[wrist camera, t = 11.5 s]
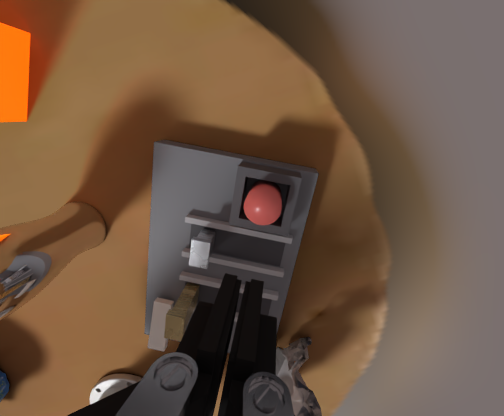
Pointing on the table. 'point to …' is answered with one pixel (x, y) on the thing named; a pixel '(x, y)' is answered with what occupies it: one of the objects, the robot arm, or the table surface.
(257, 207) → the button
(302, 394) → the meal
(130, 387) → the robot arm
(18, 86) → the orange juice
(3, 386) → the snack cup
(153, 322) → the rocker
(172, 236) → the panel
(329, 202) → the table surface
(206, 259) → the steel slider
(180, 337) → the brass slider
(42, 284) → the beer glass
